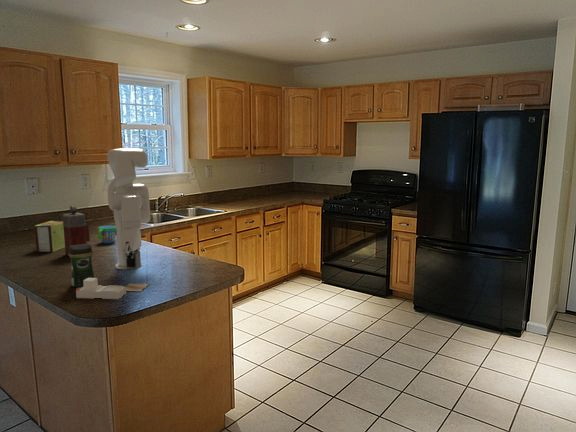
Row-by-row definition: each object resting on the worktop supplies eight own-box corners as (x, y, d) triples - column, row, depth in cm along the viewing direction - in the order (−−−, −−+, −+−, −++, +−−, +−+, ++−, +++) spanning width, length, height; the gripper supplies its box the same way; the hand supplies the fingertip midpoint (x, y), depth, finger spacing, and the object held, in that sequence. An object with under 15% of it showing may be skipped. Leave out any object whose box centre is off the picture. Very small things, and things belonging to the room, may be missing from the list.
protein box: (68, 246, 269) (66, 221, 266) (52, 252, 254) (50, 226, 251) (52, 245, 270) (50, 220, 267) (35, 251, 255) (33, 225, 252)
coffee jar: (93, 280, 204) (90, 241, 201) (96, 285, 197) (93, 244, 194) (70, 284, 198) (67, 244, 195) (72, 289, 192) (69, 247, 189)
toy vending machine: (91, 254, 251) (88, 205, 246) (71, 257, 243) (67, 207, 238) (85, 251, 257) (82, 203, 252) (65, 254, 249) (61, 205, 244)
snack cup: (111, 239, 288) (110, 224, 286) (123, 240, 284) (122, 225, 282) (92, 244, 274) (91, 228, 272) (105, 246, 270) (104, 229, 268)
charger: (126, 269, 189) (125, 253, 188) (130, 266, 194) (130, 250, 193) (136, 269, 189) (136, 253, 188) (140, 266, 194) (140, 250, 192)
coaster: (129, 284, 198) (129, 283, 198) (148, 285, 197) (148, 284, 197) (120, 291, 189) (120, 290, 189) (140, 292, 189) (140, 290, 189)
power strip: (75, 297, 181) (74, 281, 180) (84, 292, 188) (83, 276, 187) (119, 299, 180) (118, 282, 179) (126, 293, 187) (125, 277, 186)
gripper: (131, 220, 197) (133, 260, 200) (114, 227, 180) (116, 270, 183) (147, 221, 197) (149, 260, 199) (131, 227, 180) (134, 271, 183)
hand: (133, 264), depth 191 cm, fingers closed on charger, 4 cm apart
